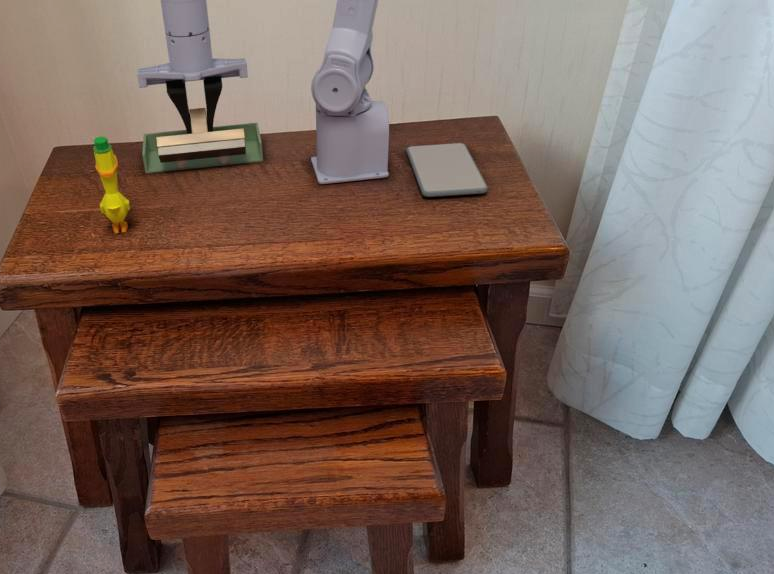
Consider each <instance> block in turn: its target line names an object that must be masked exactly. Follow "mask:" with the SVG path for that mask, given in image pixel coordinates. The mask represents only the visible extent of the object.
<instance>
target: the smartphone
mask: <svg viewBox="0 0 774 574" xmlns="http://www.w3.org/2000/svg"><path fill="white" fill-rule="evenodd" d="M405 150H406V151H405V152H406V155H407V158H408V160H409V164H410V165H411V168H412V171H413V174H414V176H415V179H416V182H417V184H418V187H419V189H420V192H421V195H422V196H423V197H426V198H433V197H434V198H435V197H451V196H466V195H481V194H486V193H487V192H488V190H489V187H488V184H487V183H486V180H485V179H484V177H483V175H482V173H481V171H480V169H479V167H478V165H477V163H476V161H475V160H474V158H473V156H472V154H471V153H470V150H469V149H468V147H467V145H466V144H465V143H463V142H453V143H439V144H437V143H436V144H425V145H424V144H423V145H422V144H421V145H411V146H410V145H409V146H408V147H407V148H406V149H405Z"/></svg>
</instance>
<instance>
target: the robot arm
mask: <svg viewBox="0 0 774 574" xmlns="http://www.w3.org/2000/svg"><path fill="white" fill-rule="evenodd" d="M207 3H208V2H207V0H160V6H161V14H162V20H163V27H164V34H165V40H166V48H167V54H168V60H169V61H168V62H166V63H162V64H157V65H152V66H148V67H147V66H146V67H139V68H137V71H136V77H137V81H138V87H139V89H142V88H148V86H155V85H156V86H157V85H164V84H165V86H166V94H167V96H168V97H169V99H170V101H171V102H172V103H173V105H174V108H176V111H178V114H179V116H180V117H181V121H182V122H183V125H184V127H185V130H187V134H192V129H191V120H190V111H189V110H190V109H189V101H188V94H187V93H188V92H187V87H186V83H188V82H194V81H196V82H197V81H203V91H204V98H205V99H204V101H205V109H206V117H207V127H208V132H213V127H214V119H215V114H216V110H217V106H218V103H219V99H220V97H221V94H222V91H223V80H222V79H227V78H228V79H229V78H240V79H246V78H248V65H247V62H248V61H247V59H246V58H245V57H243V58H241V57H240V58H214V57H213V50H212V49H213V48H212V40H211V30H210V24H209V23H210V21H209V15H208V14H209V12H208V4H207ZM378 3H379V0H337V1H336V5H335V6H336V7H335V11H334V16H333V17H334V18H333V23H332V28H331V31H330V35H329V37H328V41H327V44H326V47H325V51H324V55H323V60H322V63H321V65H320V67H319V69H317V70H316V72H315V74H314V76H313V77H312V80H311V85H310V92H311V97H312V99H313V101H314V103H315V134H316V135H315V137H316V156H312V157H311V158H310V162H311V165H312V169H313V171H314V174H315V177H316V180H317V183H318V184H319V185H327V184H337V183H347V182H356V181H366V180H375V179H377V180H378V179H386V178H389V176H390V173H389V171H388V170H389V145H390V120H389V111H388V108H387V104H386V102H385V101H379V100H376V101H375V100H372V98H371V96H370V93H369V91H368V90H367V88H366V86H367V84H368V83H369V82H370V80H371V79H372V76H373V73H374V69H375V67H374V66H375V65H374V58H373V55H372V43H373V38H374V33H373V27H374V22H375V18H376V13H377V8H378Z"/></svg>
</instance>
